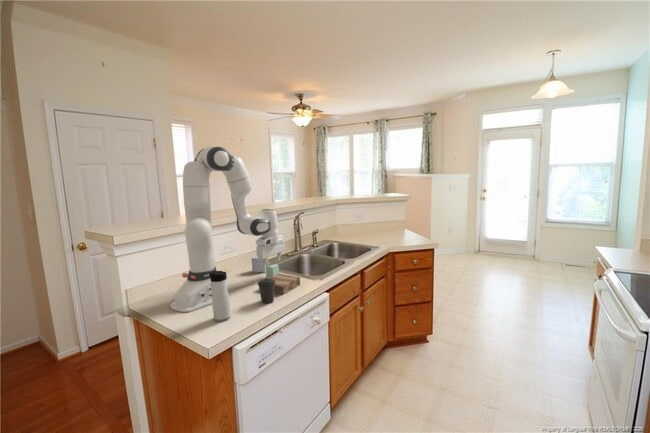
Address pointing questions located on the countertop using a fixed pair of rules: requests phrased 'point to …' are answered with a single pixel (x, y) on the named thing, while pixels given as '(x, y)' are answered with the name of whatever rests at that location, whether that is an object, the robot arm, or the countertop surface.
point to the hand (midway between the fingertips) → (272, 262)
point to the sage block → (271, 270)
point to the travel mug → (220, 296)
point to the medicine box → (258, 265)
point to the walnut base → (285, 283)
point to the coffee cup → (266, 290)
